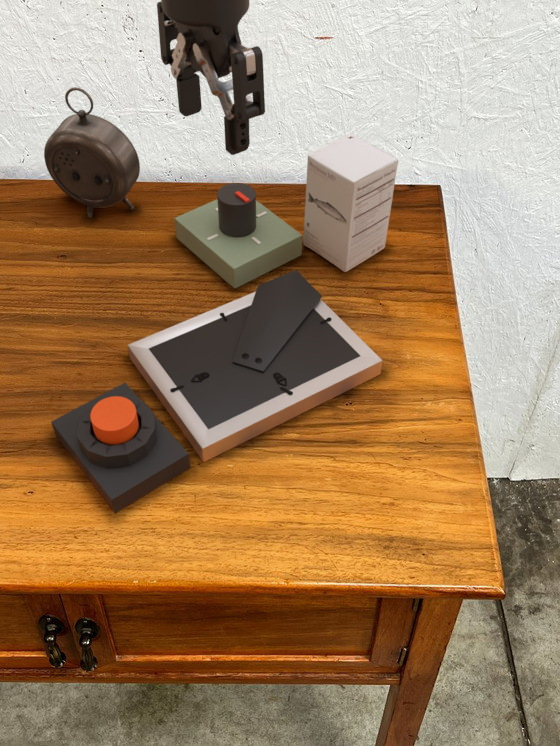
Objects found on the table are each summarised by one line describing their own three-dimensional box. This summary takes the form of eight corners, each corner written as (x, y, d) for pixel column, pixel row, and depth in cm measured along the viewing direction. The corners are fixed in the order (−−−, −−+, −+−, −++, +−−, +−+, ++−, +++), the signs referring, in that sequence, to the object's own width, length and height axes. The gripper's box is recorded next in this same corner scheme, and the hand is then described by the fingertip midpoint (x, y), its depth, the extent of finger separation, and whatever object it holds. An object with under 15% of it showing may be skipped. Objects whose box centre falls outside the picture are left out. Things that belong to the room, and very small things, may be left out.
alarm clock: (147, 204, 99) (130, 84, 87) (129, 229, 96) (109, 107, 84) (70, 189, 101) (44, 69, 89) (49, 212, 98) (19, 91, 86)
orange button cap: (85, 424, 70) (81, 410, 69) (124, 403, 72) (121, 389, 70) (108, 452, 68) (104, 438, 67) (147, 430, 70) (144, 416, 68)
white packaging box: (300, 245, 94) (304, 153, 85) (343, 221, 97) (352, 130, 88) (344, 275, 90) (353, 182, 81) (387, 249, 94) (400, 156, 84)
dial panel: (176, 238, 95) (173, 216, 92) (241, 208, 99) (241, 187, 97) (234, 289, 88) (233, 267, 86) (301, 255, 93) (302, 233, 90)
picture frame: (295, 288, 89) (130, 358, 81) (296, 269, 86) (126, 339, 79) (380, 374, 80) (203, 462, 72) (383, 355, 78) (201, 443, 70)
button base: (55, 436, 74) (46, 409, 71) (128, 396, 77) (122, 369, 74) (115, 513, 68) (108, 488, 65) (190, 467, 72) (187, 441, 69)
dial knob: (211, 224, 92) (209, 189, 88) (241, 210, 94) (240, 176, 90) (233, 242, 89) (232, 207, 86) (263, 227, 91) (263, 193, 88)
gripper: (120, -65, 66) (144, 112, 78) (209, -9, 58) (220, 178, 70) (196, -81, 69) (207, 91, 81) (290, -31, 61) (287, 152, 73)
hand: (213, 131), depth 75 cm, fingers open, 8 cm apart
